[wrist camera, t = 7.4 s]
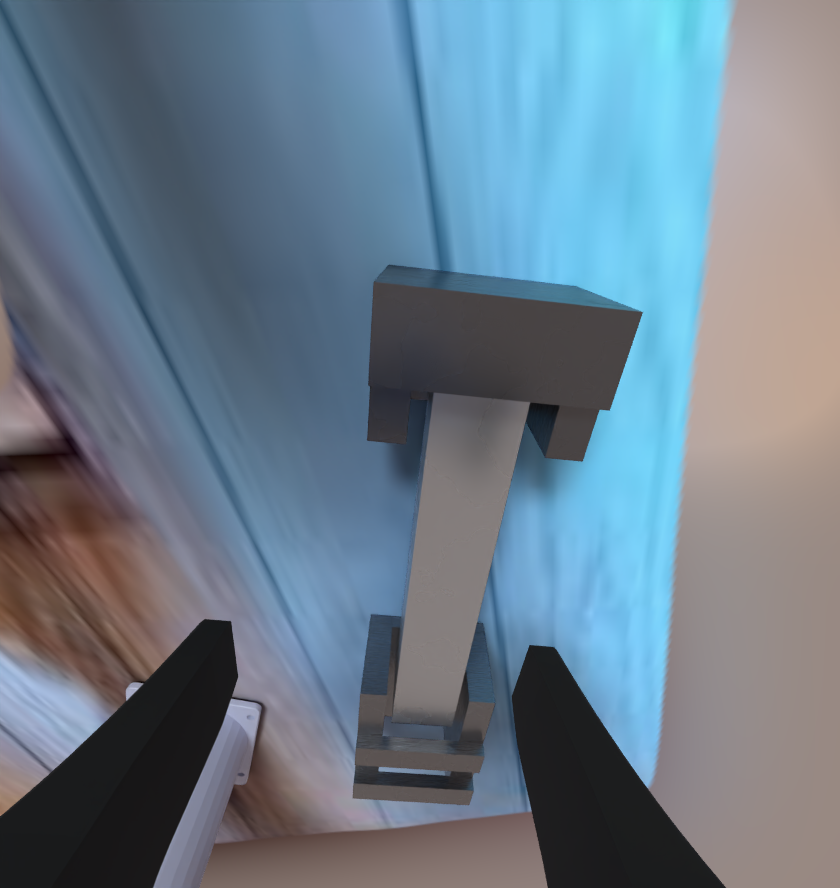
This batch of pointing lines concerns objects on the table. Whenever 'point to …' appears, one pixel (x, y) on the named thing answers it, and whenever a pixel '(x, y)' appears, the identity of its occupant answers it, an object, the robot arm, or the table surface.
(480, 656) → the sleeve
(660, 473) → the table surface
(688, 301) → the table surface
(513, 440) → the rod
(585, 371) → the socket
